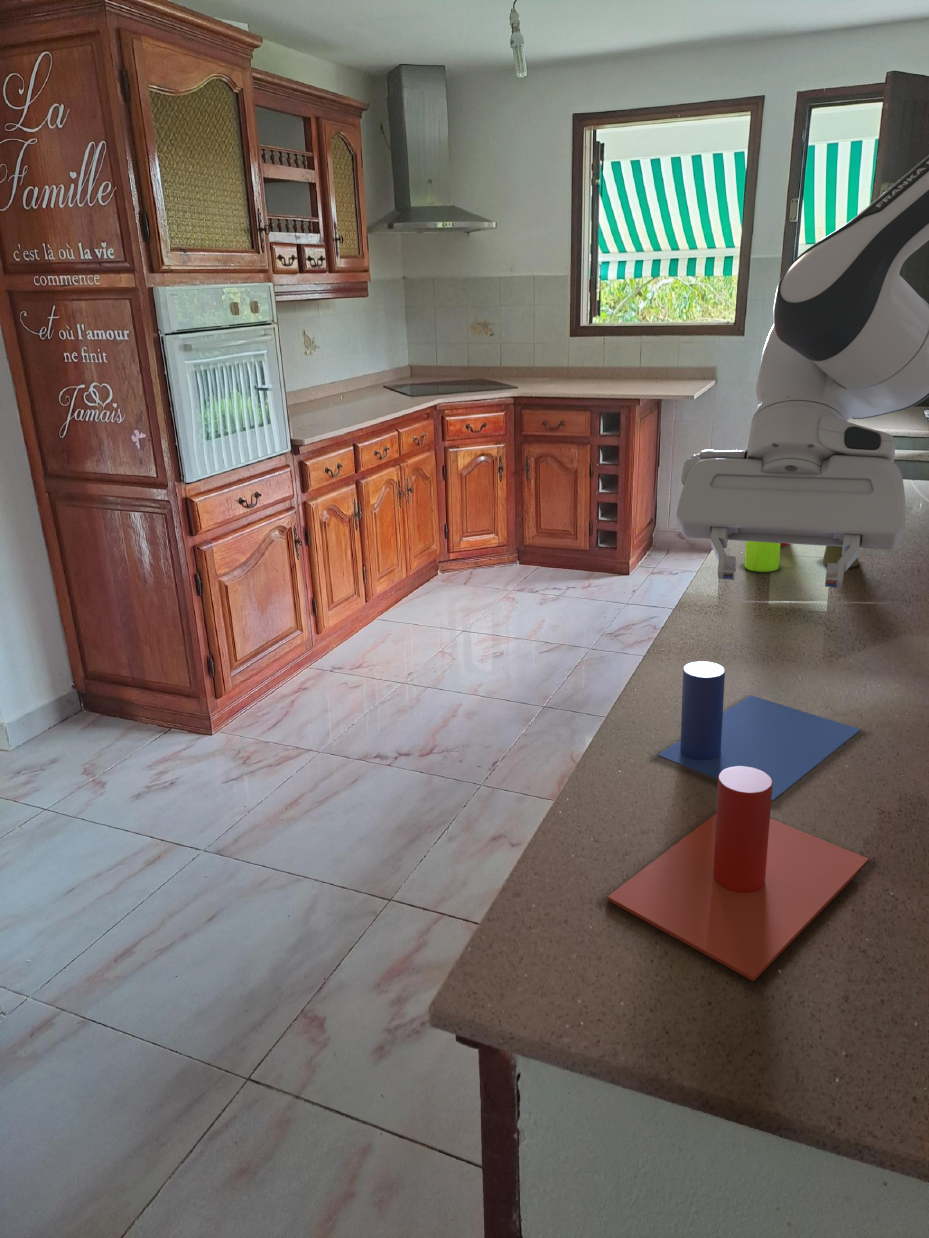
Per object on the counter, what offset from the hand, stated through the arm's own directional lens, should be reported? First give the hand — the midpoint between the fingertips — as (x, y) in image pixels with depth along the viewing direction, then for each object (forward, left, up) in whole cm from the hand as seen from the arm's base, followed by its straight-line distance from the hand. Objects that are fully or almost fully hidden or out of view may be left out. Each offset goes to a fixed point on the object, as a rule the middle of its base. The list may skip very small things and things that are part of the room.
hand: (778, 581), depth 81 cm
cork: (+29, -79, -24) cm, 88 cm away
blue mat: (+6, -10, -24) cm, 26 cm away
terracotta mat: (-5, +13, -24) cm, 27 cm away
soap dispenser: (+39, -69, -24) cm, 83 cm away
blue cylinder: (+10, -4, -23) cm, 26 cm away
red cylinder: (-5, +13, -23) cm, 27 cm away
